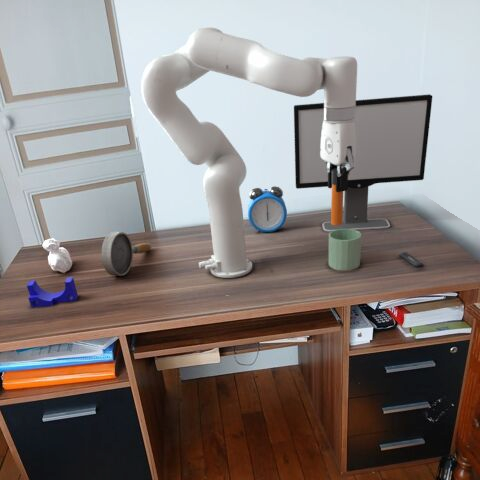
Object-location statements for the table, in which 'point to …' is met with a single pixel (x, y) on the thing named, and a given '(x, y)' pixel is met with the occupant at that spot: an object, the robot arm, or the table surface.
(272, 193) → the alarm clock
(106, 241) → the frying pan
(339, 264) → the pen holder
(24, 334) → the table surface
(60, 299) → the blue cradle stand
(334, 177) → the marker
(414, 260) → the usb stick
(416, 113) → the computer monitor
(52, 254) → the bust
